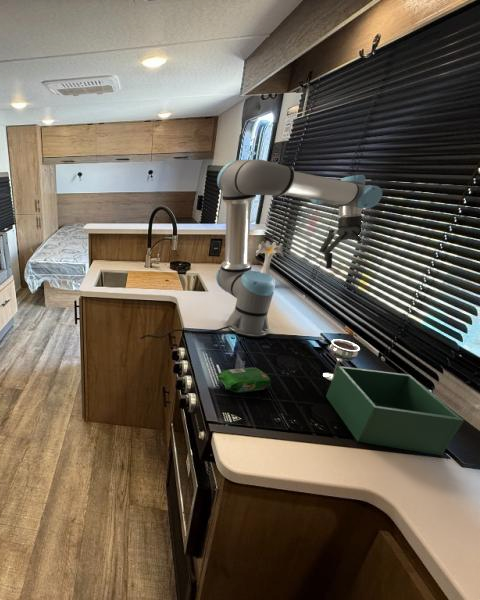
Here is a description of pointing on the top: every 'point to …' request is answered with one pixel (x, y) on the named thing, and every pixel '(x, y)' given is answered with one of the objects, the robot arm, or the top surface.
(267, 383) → the snack package
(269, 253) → the flower vase
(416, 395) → the open green storage bin
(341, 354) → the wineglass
